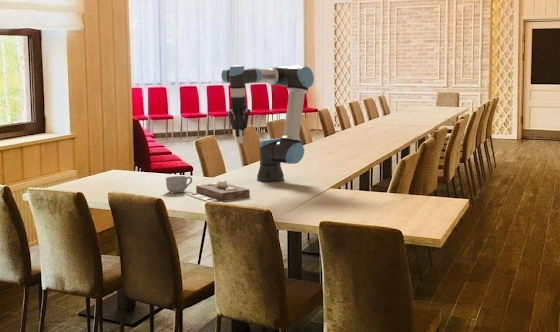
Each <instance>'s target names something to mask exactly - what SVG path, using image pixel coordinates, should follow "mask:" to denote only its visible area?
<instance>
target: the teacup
mask: <svg viewBox="0 0 560 332" xmlns="http://www.w3.org/2000/svg"><path fill="white" fill-rule="evenodd" d="M188 179H189V182H187V181H188ZM165 181H166V183H165V185H166V190H167V191H169V192H170V193H171V194H173V193H174V194H177V193H183V192H184V191H185V190H186V189H187V188H188V187H189V186H190V185H191V184H192V183H193V177H192V176H186V175H185V176H184V175H177V176H176V175H175V176H168V177H167V176H166V178H165Z"/></svg>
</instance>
